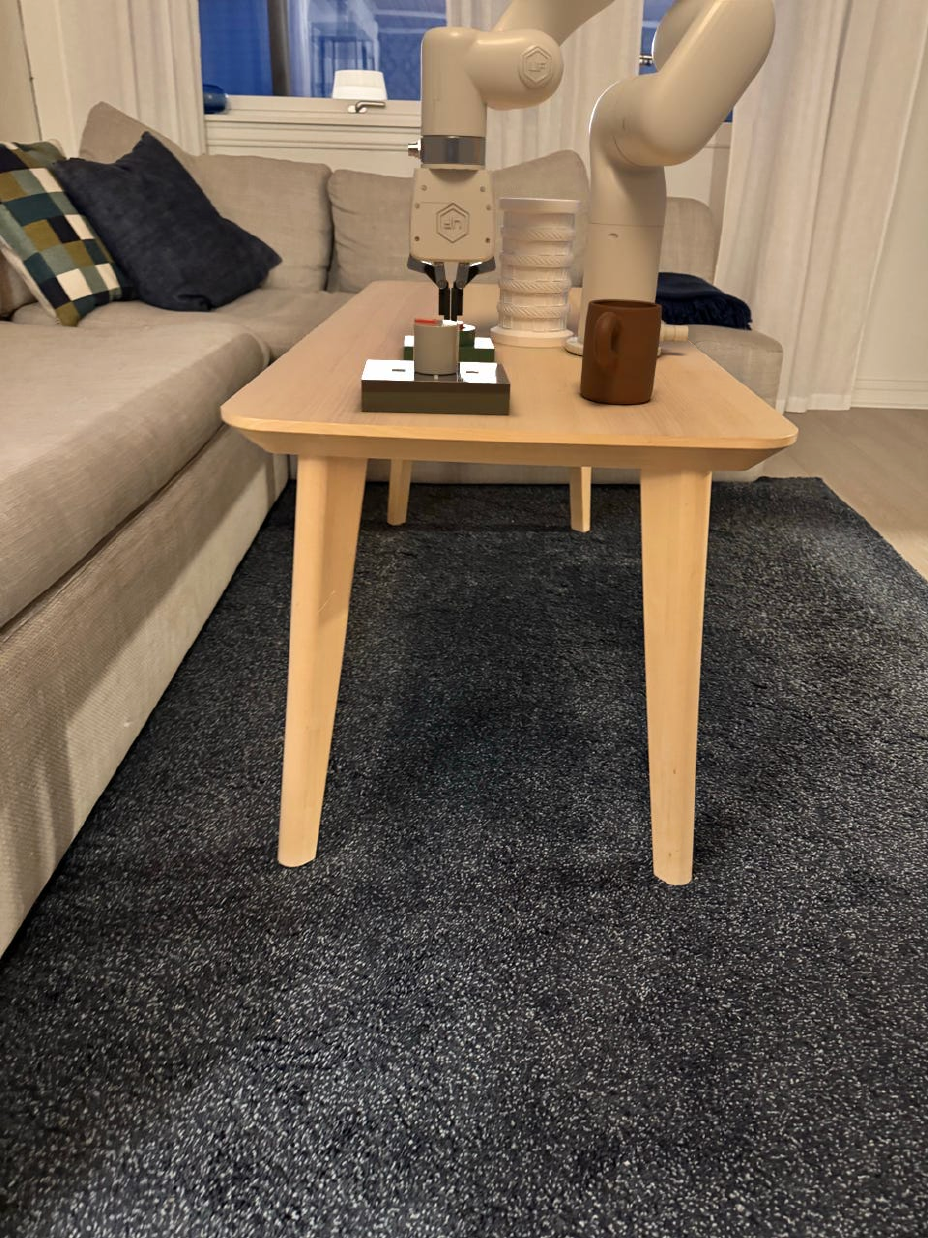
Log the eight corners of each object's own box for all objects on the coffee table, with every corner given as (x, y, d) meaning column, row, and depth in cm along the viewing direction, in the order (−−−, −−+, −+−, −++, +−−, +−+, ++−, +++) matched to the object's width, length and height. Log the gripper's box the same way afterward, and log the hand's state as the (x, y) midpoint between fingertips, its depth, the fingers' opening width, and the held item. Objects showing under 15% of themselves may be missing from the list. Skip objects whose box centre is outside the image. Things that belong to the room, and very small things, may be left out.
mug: (631, 418, 87) (643, 315, 83) (555, 408, 90) (563, 308, 86) (659, 395, 97) (670, 302, 93) (590, 386, 100) (599, 296, 95)
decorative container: (582, 338, 130) (594, 200, 122) (558, 350, 120) (570, 201, 113) (506, 331, 134) (513, 197, 126) (477, 342, 124) (483, 197, 116)
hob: (500, 392, 95) (502, 361, 94) (509, 415, 86) (510, 381, 85) (367, 389, 95) (367, 358, 93) (361, 411, 86) (361, 377, 84)
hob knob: (457, 366, 91) (459, 317, 89) (457, 375, 87) (459, 323, 85) (414, 365, 91) (414, 315, 89) (412, 374, 87) (412, 322, 85)
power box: (489, 351, 118) (491, 323, 116) (494, 362, 111) (495, 333, 109) (405, 349, 117) (405, 320, 116) (403, 360, 110) (404, 330, 109)
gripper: (386, 153, 100) (388, 325, 109) (521, 156, 101) (513, 327, 109) (389, 154, 107) (390, 316, 115) (514, 157, 108) (507, 318, 116)
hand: (450, 321), depth 112 cm, fingers closed
